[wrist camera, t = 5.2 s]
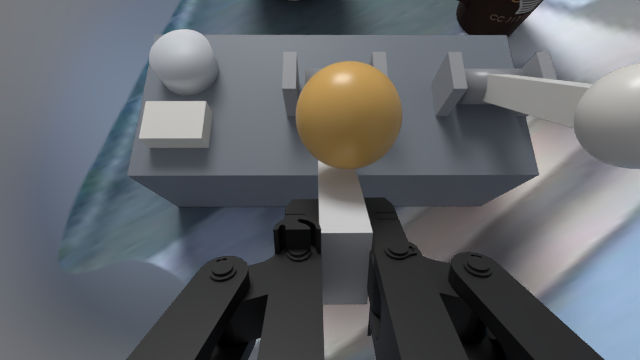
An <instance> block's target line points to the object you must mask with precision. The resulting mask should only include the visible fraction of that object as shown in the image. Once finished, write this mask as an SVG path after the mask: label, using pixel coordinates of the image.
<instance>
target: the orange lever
mask: <svg viewBox="0 0 640 360" xmlns="http://www.w3.org/2000/svg"><path fill="white" fill-rule="evenodd" d="M401 124H402V105H401V101H400V97H399V94H398V92H397V90H396V88H395V86H394V84H393V83H392V82H391V81H390V79H389V78H388V77H387V76H386V75H385V74H384V73H382V72H381V71H380V70H378V69H377V68H375V67H373V66H371V65H368V64H366V63H362V62H357V61H343V62H338V63H334V64H331V65H329V66H327V67H325V68H323V69H305V86H304V88H303V89H302V91H301V93H300V96H299V99H298V102H297V107H296V126H297V130H298V134H299V136H300V139H301V141H302V143H303V144H304V146H305V147H306V149H307V150H308V151H309V152H310V153H311V154H312V155H313V156H314V157H315V158H316V159H317V160H319V161H320V162H322V163H324V164H326V165H328V166H331V167H334V168H339V169H358V168H362V167H365V166H368V165H370V164H373V163H374V162H376V161H378V160H379V159H380V158H382V157H383V156H384V155H385V154H386V153H387V152H388V151H389V150H390V148H391V147H392V146H393V144H394V143H395V141H396V139H397V137H398V135H399V132H400V129H401Z"/></svg>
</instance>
